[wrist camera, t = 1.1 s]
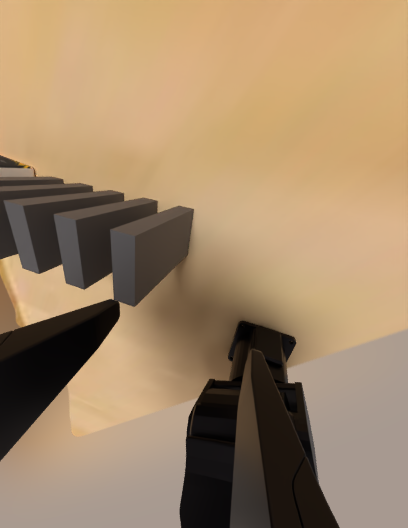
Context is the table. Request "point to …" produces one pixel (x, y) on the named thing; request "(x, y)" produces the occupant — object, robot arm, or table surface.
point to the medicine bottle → (14, 168)
